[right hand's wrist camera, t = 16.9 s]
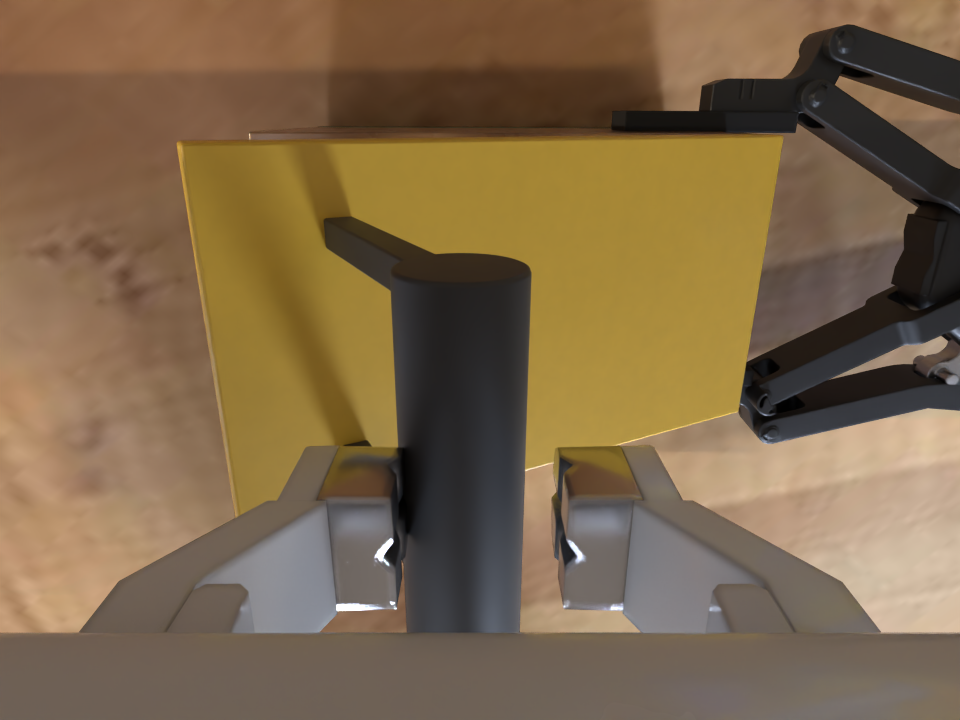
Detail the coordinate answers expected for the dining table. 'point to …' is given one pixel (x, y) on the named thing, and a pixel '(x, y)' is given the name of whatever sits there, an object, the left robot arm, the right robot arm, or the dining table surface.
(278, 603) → the right robot arm
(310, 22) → the dining table surface
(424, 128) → the chest
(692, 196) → the lid
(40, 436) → the dining table surface
